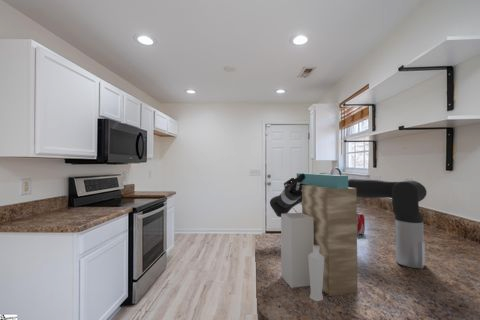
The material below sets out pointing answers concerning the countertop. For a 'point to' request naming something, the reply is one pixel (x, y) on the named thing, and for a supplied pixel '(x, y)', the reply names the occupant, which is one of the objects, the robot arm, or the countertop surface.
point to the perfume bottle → (316, 273)
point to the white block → (296, 248)
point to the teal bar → (326, 180)
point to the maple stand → (334, 235)
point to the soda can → (360, 223)
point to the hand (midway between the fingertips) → (309, 175)
